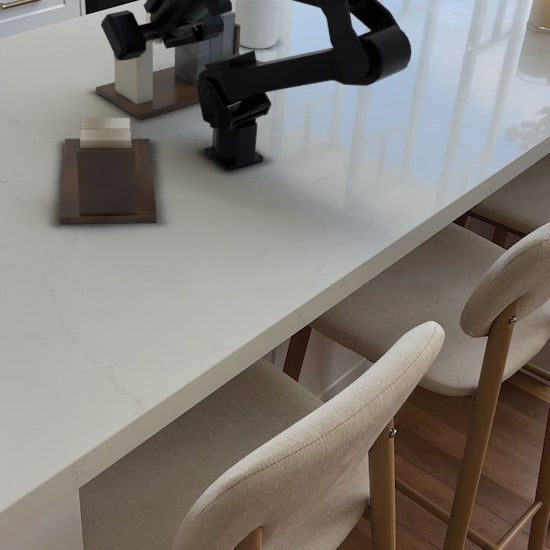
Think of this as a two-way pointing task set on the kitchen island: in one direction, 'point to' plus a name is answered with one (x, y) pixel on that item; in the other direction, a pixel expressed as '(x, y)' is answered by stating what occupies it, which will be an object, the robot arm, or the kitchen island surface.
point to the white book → (136, 76)
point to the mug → (257, 22)
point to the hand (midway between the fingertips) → (141, 51)
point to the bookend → (180, 74)
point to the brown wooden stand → (107, 175)
